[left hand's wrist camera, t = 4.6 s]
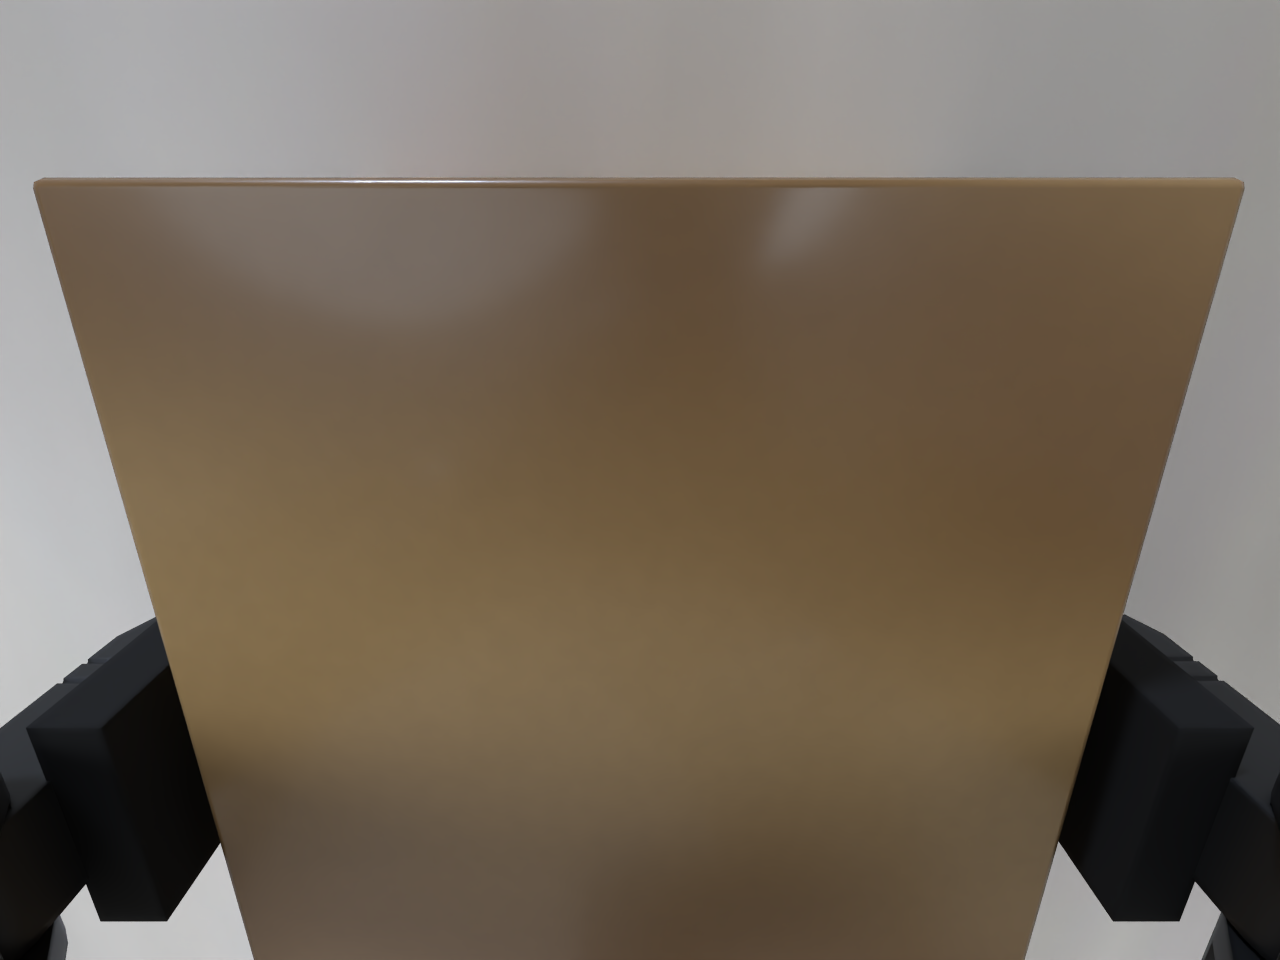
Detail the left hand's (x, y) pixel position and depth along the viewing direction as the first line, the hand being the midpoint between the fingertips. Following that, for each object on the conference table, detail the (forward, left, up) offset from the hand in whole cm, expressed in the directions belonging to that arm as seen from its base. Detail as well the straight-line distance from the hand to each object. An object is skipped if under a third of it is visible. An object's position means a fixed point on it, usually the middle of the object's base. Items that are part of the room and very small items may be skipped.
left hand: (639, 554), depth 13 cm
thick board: (+12, -14, -1) cm, 19 cm away
